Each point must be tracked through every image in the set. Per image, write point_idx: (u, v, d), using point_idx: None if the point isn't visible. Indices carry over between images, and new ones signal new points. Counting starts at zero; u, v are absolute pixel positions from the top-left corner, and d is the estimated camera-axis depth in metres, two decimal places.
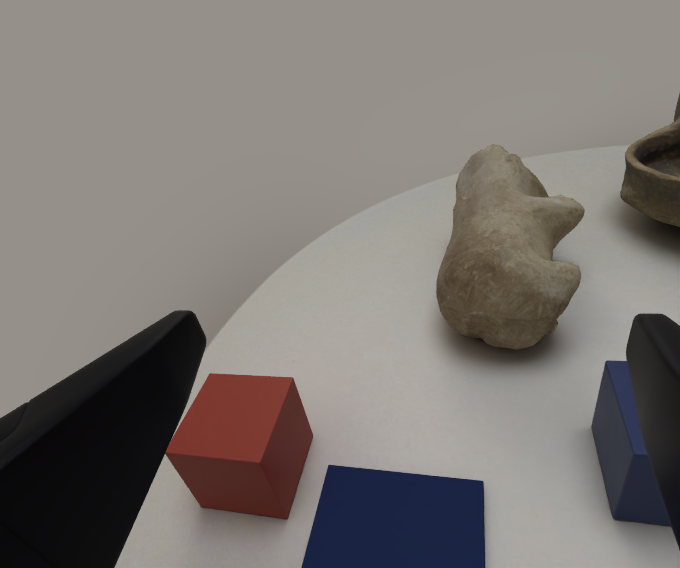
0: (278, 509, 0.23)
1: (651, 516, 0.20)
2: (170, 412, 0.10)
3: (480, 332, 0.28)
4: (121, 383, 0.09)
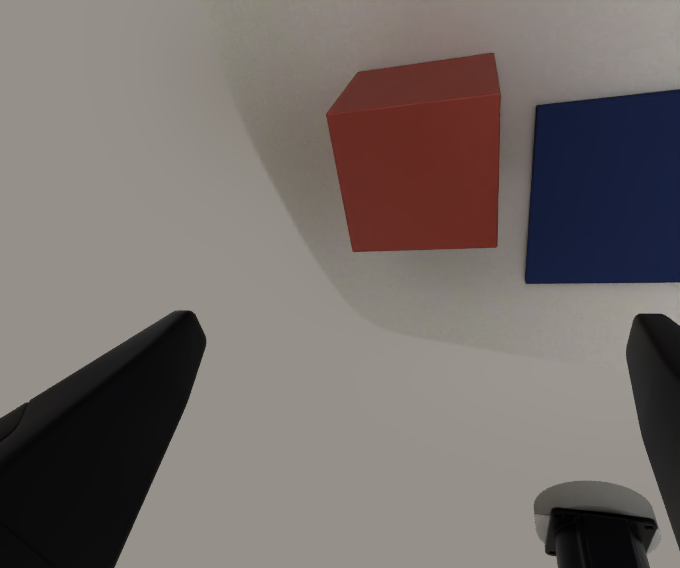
0: None
1: None
2: (170, 412, 0.10)
3: None
4: (121, 383, 0.09)
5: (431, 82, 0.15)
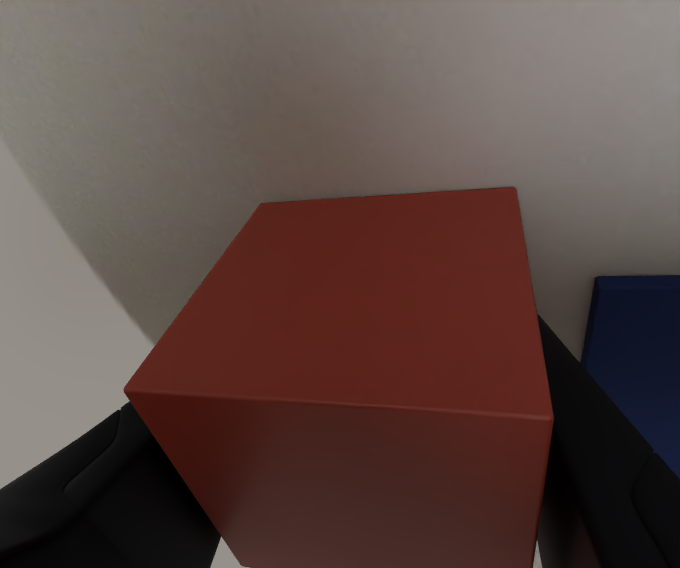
0: None
1: None
2: None
3: None
4: None
5: (381, 289, 0.07)
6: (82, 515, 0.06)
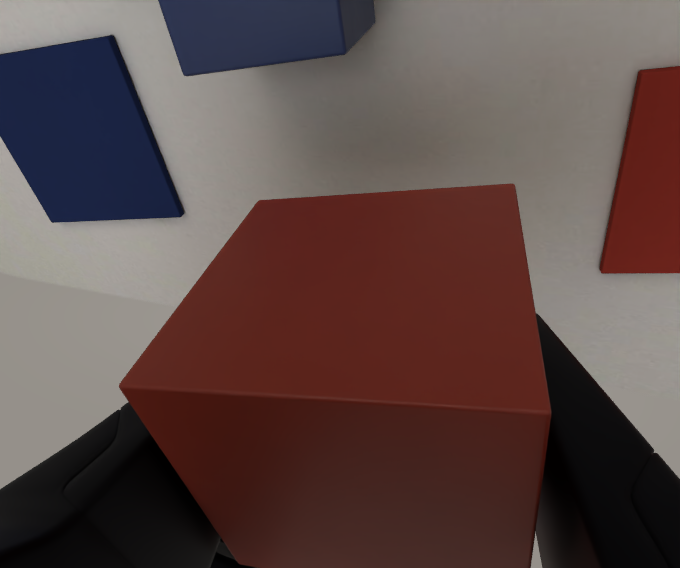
0: None
1: None
2: None
3: None
4: None
5: (378, 285, 0.06)
6: (81, 516, 0.06)
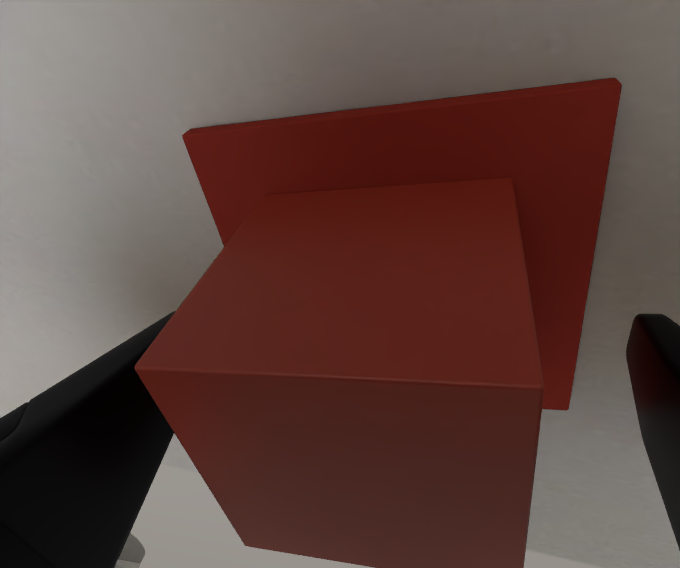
0: None
1: None
2: None
3: None
4: (121, 383, 0.09)
5: (381, 273, 0.07)
6: None
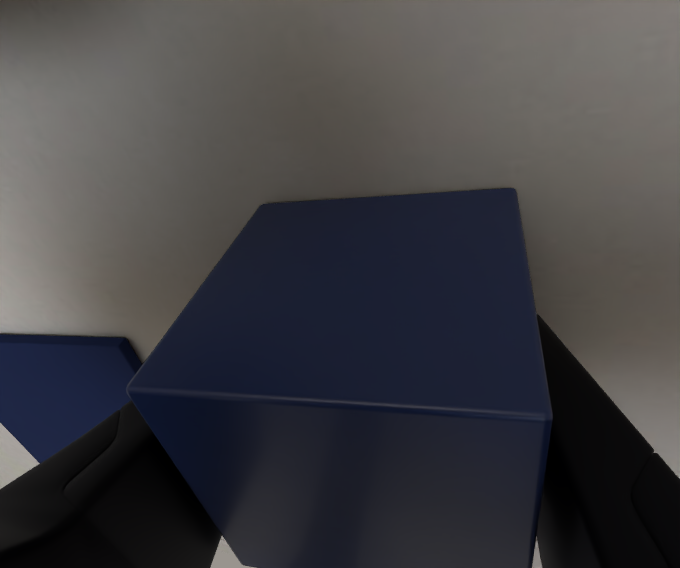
0: None
1: None
2: None
3: None
4: None
5: None
6: (82, 515, 0.06)
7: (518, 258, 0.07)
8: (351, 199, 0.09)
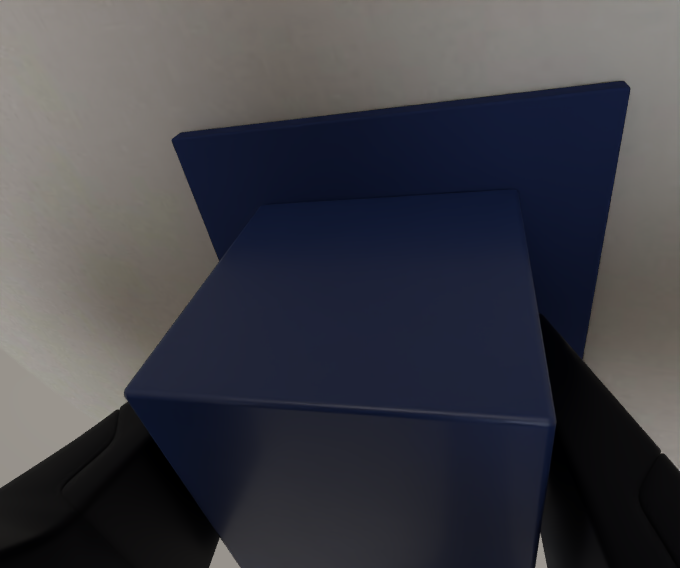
0: None
1: None
2: None
3: None
4: None
5: None
6: (80, 515, 0.06)
7: (520, 260, 0.06)
8: (351, 200, 0.09)
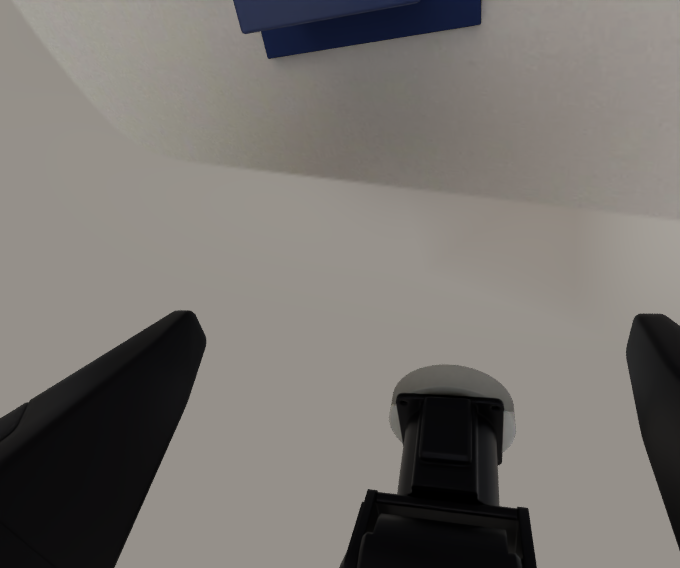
0: None
1: None
2: (170, 411, 0.10)
3: None
4: (121, 383, 0.09)
5: None
6: None
7: None
8: None
